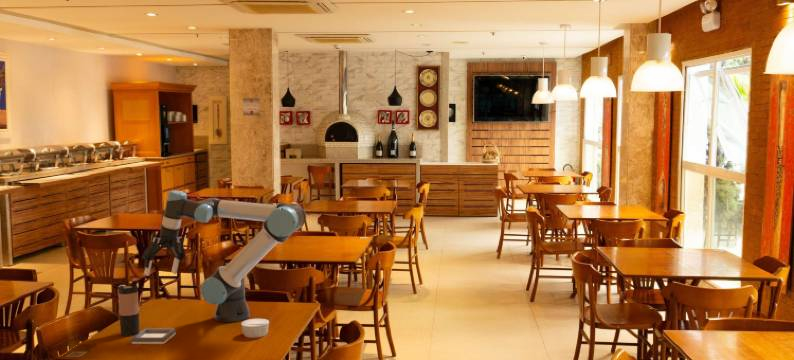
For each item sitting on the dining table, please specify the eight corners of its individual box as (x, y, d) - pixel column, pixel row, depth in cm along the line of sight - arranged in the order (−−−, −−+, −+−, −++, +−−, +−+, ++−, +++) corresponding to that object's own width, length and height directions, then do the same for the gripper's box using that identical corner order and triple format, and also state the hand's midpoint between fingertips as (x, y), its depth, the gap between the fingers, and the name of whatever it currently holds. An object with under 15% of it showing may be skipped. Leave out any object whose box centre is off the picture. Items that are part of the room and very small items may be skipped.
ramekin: (246, 340, 290) (245, 327, 290) (238, 333, 300) (237, 320, 300) (273, 336, 295) (272, 323, 295) (264, 329, 305) (264, 316, 305)
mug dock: (175, 334, 300) (175, 328, 300) (163, 343, 287) (163, 338, 287) (145, 334, 301) (144, 328, 301) (131, 343, 288) (131, 338, 288)
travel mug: (133, 336, 298) (131, 288, 296) (116, 336, 299) (114, 288, 298) (143, 331, 305) (141, 284, 303) (127, 330, 307) (124, 283, 305)
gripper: (189, 223, 322) (179, 269, 325) (139, 223, 303) (129, 272, 305) (199, 229, 318) (189, 275, 321) (149, 229, 298) (139, 278, 301)
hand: (160, 273), depth 313 cm, fingers open, 13 cm apart
